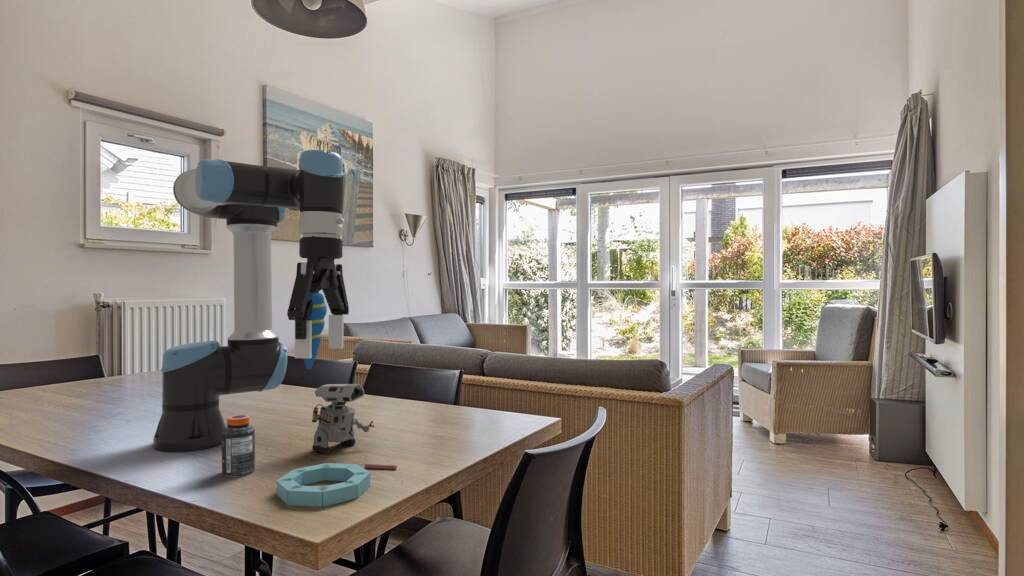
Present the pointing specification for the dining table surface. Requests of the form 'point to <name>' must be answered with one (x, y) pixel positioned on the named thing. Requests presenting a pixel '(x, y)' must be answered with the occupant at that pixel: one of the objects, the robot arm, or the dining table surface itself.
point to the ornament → (316, 324)
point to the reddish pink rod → (380, 466)
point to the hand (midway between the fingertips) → (320, 353)
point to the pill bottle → (238, 447)
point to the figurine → (336, 416)
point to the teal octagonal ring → (318, 496)
